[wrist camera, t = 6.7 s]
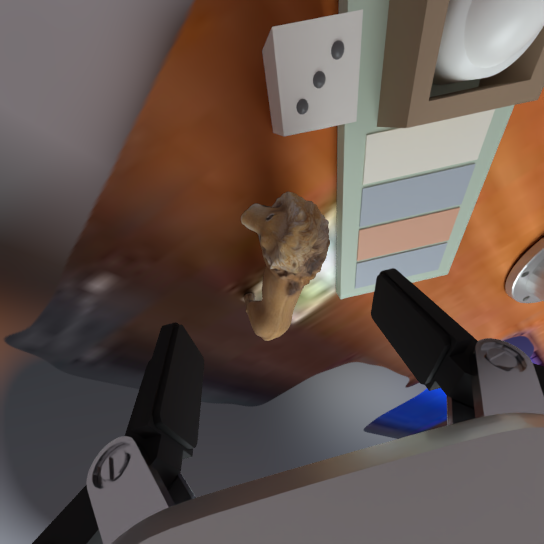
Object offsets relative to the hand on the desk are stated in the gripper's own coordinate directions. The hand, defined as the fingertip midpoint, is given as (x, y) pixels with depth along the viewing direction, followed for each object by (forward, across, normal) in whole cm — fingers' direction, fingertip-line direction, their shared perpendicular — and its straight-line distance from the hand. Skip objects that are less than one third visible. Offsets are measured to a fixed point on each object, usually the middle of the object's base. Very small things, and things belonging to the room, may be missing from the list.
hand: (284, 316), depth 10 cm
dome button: (+8, -13, -10) cm, 18 cm away
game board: (+10, -13, -3) cm, 16 cm away
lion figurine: (+10, 0, +2) cm, 11 cm away
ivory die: (+10, -4, -9) cm, 14 cm away
